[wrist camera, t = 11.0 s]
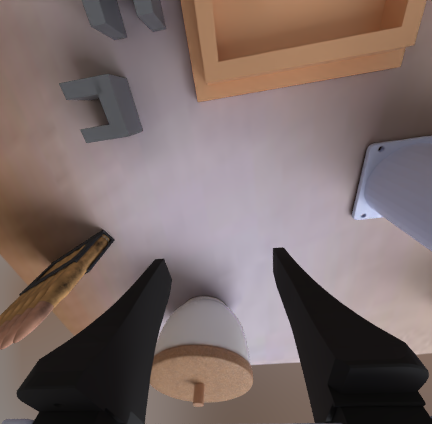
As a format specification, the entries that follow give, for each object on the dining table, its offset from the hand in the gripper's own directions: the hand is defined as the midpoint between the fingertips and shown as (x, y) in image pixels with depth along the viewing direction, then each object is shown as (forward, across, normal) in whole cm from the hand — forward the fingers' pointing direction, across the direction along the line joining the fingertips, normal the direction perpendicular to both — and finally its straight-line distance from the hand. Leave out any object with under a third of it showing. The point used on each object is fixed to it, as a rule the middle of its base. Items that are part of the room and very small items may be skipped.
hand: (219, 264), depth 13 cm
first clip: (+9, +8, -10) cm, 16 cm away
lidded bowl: (+10, +5, +19) cm, 22 cm away
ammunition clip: (+10, +19, +5) cm, 22 cm away
